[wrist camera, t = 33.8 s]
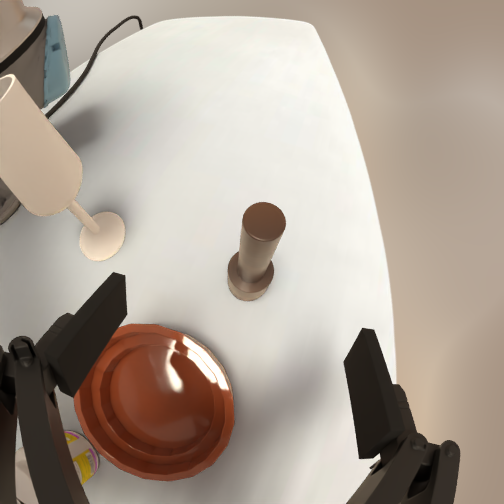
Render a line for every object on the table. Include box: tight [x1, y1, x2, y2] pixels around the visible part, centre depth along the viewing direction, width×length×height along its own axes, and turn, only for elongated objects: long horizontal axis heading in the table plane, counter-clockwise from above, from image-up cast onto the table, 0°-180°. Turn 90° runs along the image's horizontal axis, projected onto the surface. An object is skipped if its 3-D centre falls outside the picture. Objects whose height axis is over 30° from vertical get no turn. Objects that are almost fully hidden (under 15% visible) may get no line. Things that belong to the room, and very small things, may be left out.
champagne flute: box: [0, 74, 125, 261], centre depth 21 cm, size 7×7×24 cm
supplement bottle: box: [15, 431, 98, 504], centre depth 17 cm, size 7×7×13 cm
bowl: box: [74, 324, 235, 481], centre depth 24 cm, size 16×16×6 cm
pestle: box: [228, 202, 286, 301], centre depth 25 cm, size 4×4×16 cm
